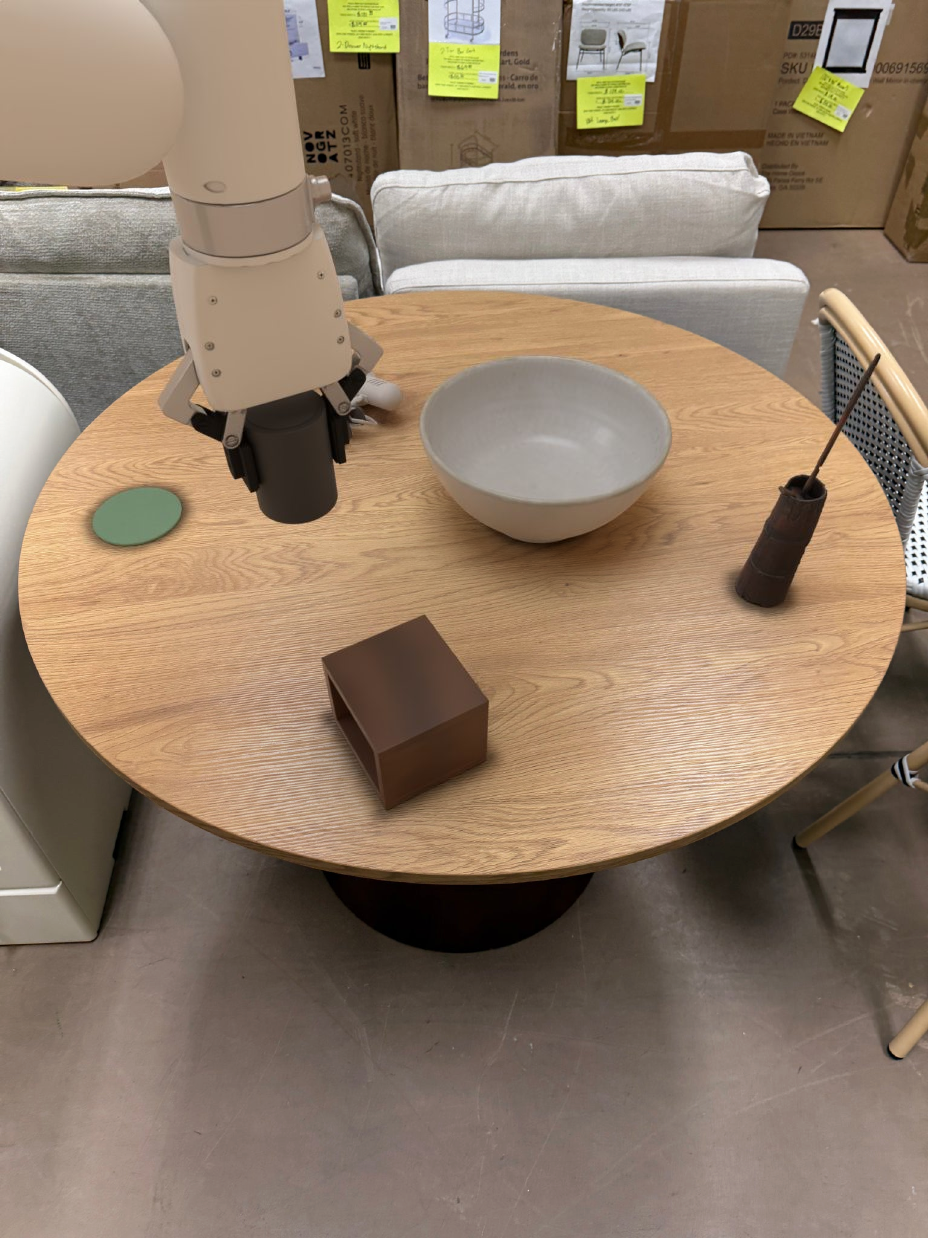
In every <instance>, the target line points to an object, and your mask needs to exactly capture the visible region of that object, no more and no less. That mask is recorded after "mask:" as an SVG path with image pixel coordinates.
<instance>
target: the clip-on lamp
mask: <svg viewBox="0 0 928 1238" xmlns="http://www.w3.org/2000/svg"><path fill="white" fill-rule="evenodd" d="M402 402H403V390H402V388H401V387H400V386H399V385H398V384H396V383H394V382H391V381H388V380H385V379H382V378H380V377H377V376H376V374H375V373H374V372H373V370H372V371H371V372H370V373H368V374H367V375H366V381H365V383H364V385H363V386H362V387H361V389H360V390H359V392H358V393H357V394H356V396H355V397H354V399H353V400H352V401H351V404H352V409H351V411H350V412H349V413H348V414H346V416H347V424H348V433H349V439H351V438H353V436H354V432H353V429H352V428H356V427H360V426H368V427H372V428H376V427H377V426H378V422H377V421H376V420H375V419H373V418H372V417H370V416H368V415H365V412H364V410H363V408H362V407H364V406H367V405H370V406H374V407H377V408H379V409H382V410H385V411H389V412H390V411H395V410H397V409H398V408H399V407H400V406H401V404H402Z"/></svg>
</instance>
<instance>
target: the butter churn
mask: <svg viewBox="0 0 928 1238" xmlns="http://www.w3.org/2000/svg"><path fill="white" fill-rule="evenodd" d="M881 357H882V354H881V353H880V352H877V353H876V354H875V356H874V358H873V359H872V361H871V362H870V363H869V365H868V367H867V369H866V370H865V372H864V373H863V375H862V377H861V379H860V380H859V381H858V384H857V386H856V387H855V390H854V392H853V394H852V395H851V398H850V399H849V401H848V403H847V405H846V407H845V409H844V411H843V413H842V415H841V417H840V419H839V421H838V422H837V425H836V426H835V428H834V431H833V432H832V434H831V435H830V438H829V439H828V441H827V443H826V445H825V447H824V449H823V451H822V452H821V455H820V457H818V460H817V462H816V465H815V466H814V469H813V470H812V471H811V473H810V475H809V474H805V473H801V474H797V475H794V476H792V477H790V478H789V480H787V482H786V484H785V485H784V486H783V485H780V486H778V487H777V489H778V491H779V492H780V493H779V497H778V499H777V501H776V502H775V504H774V506H773V507H772V509H771V512H770V514H769V516H768V517H767V518H766V520H765V521H764V524H763V528H762V530H761V532H760V534H759V536H758V538H757V541H756V542H755V544H754V546H753V548H752V549H751V550H750V552H749V556H748V557H747V559H746V561H745V563H744V565H743V567H742V569H741V570H740V573H739V574H738V576H737V577H736V578H735V583H734V584H735V586H734V587H735V590H736V593H737V594H738V596H739V598H743V599H745V600H746V601H748V602H750V603H752V604H756V605H758V606H760V607H763V608H774V607H777V606H779V605H781V604H782V603H783V602H784V601H785V598H786V596H787V595H788V592H789V590H790V588H791V585H792V583H793V580H794V578H795V575H796V573H797V572H798V568H799V566H800V565H801V561H802V559H803V556H804V555H805V553H806V548H807V547H808V546H809V544H810V543H811V541H812V539H813V537H814V533H815V530H816V528H817V526H818V523H819V521H820V518H821V514H822V513H823V509H824V507H825V503H826V501H827V498H828V489H827V488H826V484H825V483H823V482H822V480H820V479H819V477H817V476H818V475H819V474H820V471H821V469H820V468H821V467H823V466H824V464H825V462H826V460H827V458H828V456H829V455H830V452H831V451H832V449H833V447H834V445H835V444H836V441H837V439H838V438H839V435H840V434H841V432H842V430H843V428H844V426H845V425H846V422H847V421H848V419H849V417H850V416H851V414H852V411H853V410H854V408H855V406H856V404H857V402H858V400H859V399H860V397H861V396H862V394H863V392H864V390H865V388H866V386H867V384H868V383H869V381H870V379H871V377H872V375H873V373H874V372H875V369H876V367H877V366H878V364H879V363H880V361H881Z"/></svg>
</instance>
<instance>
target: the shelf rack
mask: <svg viewBox="0 0 928 1238" xmlns="http://www.w3.org/2000/svg"><path fill="white" fill-rule="evenodd" d="M320 660H321V664H322V669H323V674H324V680H325V684H326V689H327V695H328V699H329V703H330V709H331V713H332V719H333V721H334V722H335V724H336V726H337V727H338V729H339V731H340V733H341V734H342V736H343V738H344V739H345V741H346V743H347V745H348V747H349V748H350V750H351V752H352V754H353V755H354V757H355V759H356V761H357V762H358V764H359V765H360V768H361V769H362V771H363V774H364V775H365V776H366V778H367V780H368V781H369V783H370V785H371V787H372V788H373V790H374V792H375V794H376V795H377V797H378V799H379V801H380V803H381V804H382V806H383V807H384V809H385V811H389V810H391V809H394V808H395V807H397V806H399V805H401V804H403V803H405V802H406V801H409V800H410V799H412V798H415V797H417V796H418V795H420V794H423V793H424V792H427V791H429V790H431V789H432V788H435V787H436V786H438V785H440V784H443V783H444V782H446V781H448V780H450V779H452V778H454V777H456V776H458V775H460V774H462V773H464V772H466V771H468V770H470V769H472V768H474V767H476V766H478V765H480V764H482V763H484V762H486V761H487V758H488V757H487V756H488V755H487V754H488V738H489V737H488V734H489V709H490V708H489V707H490V706H489V705H490V700H489V699H488V697H487V696H486V695H485V694H484V692H483V690H482V689H481V688H480V687H479V685H478V684H477V683H476V681H475V679H474V678H473V677H472V676H471V674H470V673H469V671H467V668H465V666H464V665H463V664H462V663H461V661H460V660H459V658H458V657H457V656H456V654H455V652H454V651H453V650H452V649H451V648H450V646H449V645H448V643H447V642H446V641H445V640H444V638H443V636H442V635H441V634H440V632H439V631H438V630H437V629H436V627H435V626H434V624H433V623H432V622H431V621H430V619H429V618H428V617H427V615H426V614H425V613H424V614H421V615H419V616H417V617H414V618H412V619H410V620H407V621H405V622H402V623H400V624H398V625H396V626H393V627H390V628H388V629H386V630H383V631H382V632H381V631H380V632H379V633H377V634H374V635H372V636H369V637H367V638H365V639H362V640H360V641H357V642H355V643H353V644H350V645H348V646H346V647H343V648H341V649H339V650H336V651H334V652H331V653H329V654H327V655H325V656H322V657H321V658H320Z"/></svg>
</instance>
